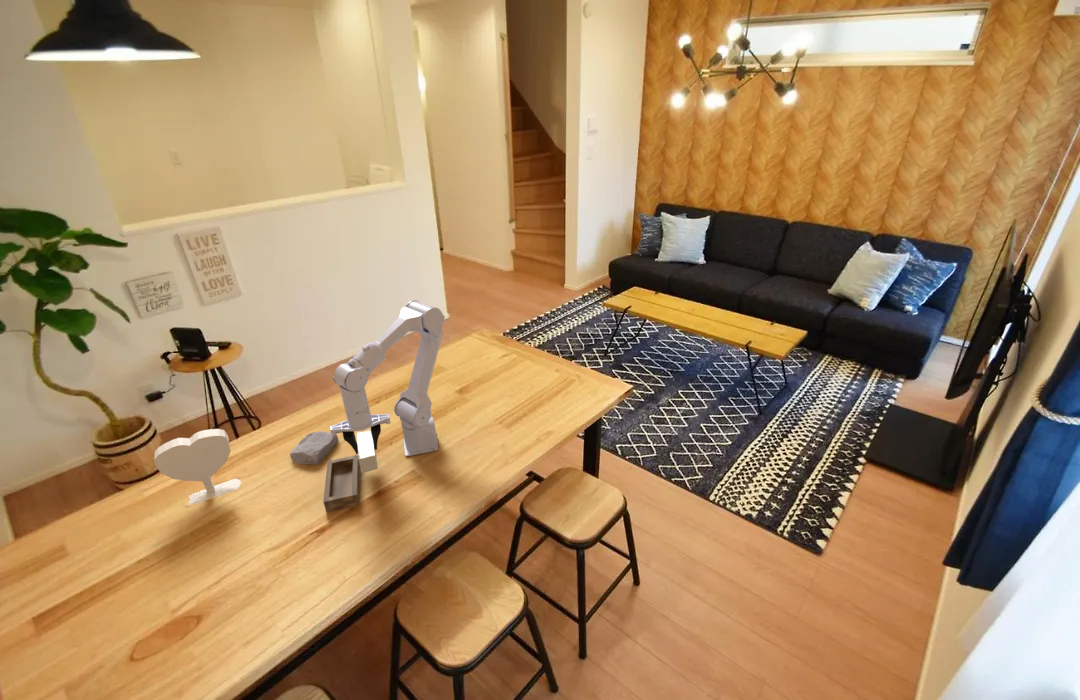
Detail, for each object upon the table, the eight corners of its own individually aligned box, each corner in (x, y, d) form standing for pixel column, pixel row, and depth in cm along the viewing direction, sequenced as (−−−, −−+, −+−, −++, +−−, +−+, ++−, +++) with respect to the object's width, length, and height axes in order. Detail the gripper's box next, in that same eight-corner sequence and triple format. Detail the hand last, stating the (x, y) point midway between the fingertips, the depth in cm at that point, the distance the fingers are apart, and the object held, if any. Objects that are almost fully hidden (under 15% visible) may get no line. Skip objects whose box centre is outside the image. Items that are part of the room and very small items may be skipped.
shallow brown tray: (360, 464, 138) (357, 454, 137) (359, 504, 125) (356, 494, 123) (330, 470, 136) (327, 460, 134) (326, 512, 123) (323, 502, 121)
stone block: (290, 468, 140) (320, 466, 138) (283, 454, 138) (313, 452, 136) (314, 443, 151) (342, 441, 148) (308, 430, 149) (336, 428, 146)
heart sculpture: (244, 475, 135) (223, 422, 127) (246, 485, 131) (224, 432, 123) (177, 499, 127) (150, 444, 119) (177, 511, 124) (149, 456, 115)
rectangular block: (374, 442, 137) (371, 429, 135) (377, 469, 127) (374, 455, 125) (359, 446, 136) (356, 433, 134) (361, 472, 126) (358, 459, 124)
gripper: (385, 393, 129) (393, 434, 136) (326, 405, 125) (337, 447, 131) (387, 407, 123) (395, 450, 130) (326, 420, 119) (337, 463, 125)
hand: (366, 449), depth 130 cm, fingers closed on rectangular block, 4 cm apart
